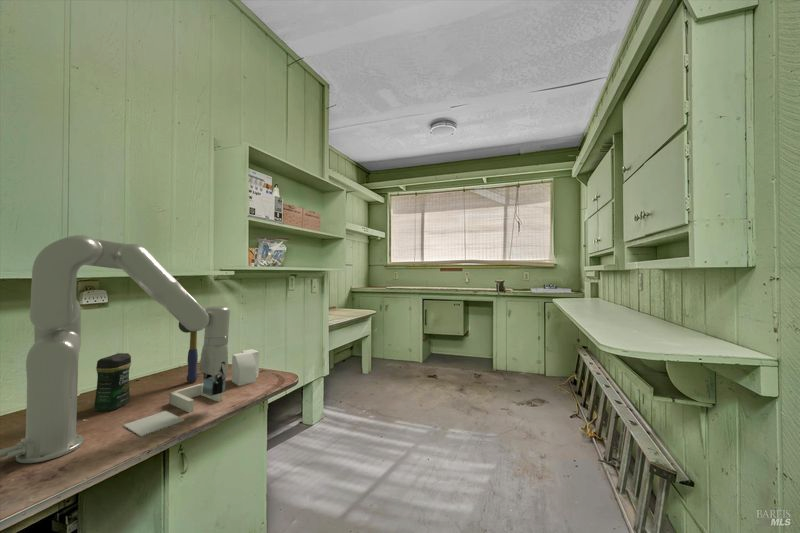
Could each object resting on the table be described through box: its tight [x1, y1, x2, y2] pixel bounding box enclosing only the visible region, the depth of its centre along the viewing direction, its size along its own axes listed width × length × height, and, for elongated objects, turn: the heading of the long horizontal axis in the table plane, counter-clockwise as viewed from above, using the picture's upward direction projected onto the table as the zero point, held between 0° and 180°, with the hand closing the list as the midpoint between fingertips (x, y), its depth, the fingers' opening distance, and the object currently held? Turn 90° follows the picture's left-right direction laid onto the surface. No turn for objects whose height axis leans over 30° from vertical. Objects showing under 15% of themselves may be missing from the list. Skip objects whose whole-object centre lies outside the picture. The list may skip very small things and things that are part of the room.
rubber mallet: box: [178, 321, 199, 384], centre depth 141 cm, size 12×8×30 cm, turn 8°
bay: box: [168, 382, 223, 413], centre depth 121 cm, size 12×14×4 cm
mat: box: [123, 410, 185, 438], centre depth 104 cm, size 12×12×1 cm
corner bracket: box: [230, 348, 260, 387], centre depth 146 cm, size 11×11×12 cm
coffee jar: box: [93, 352, 132, 412], centre depth 116 cm, size 10×8×19 cm
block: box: [202, 375, 227, 396], centre depth 115 cm, size 5×5×5 cm
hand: (212, 391), depth 115 cm, fingers closed on block, 5 cm apart
